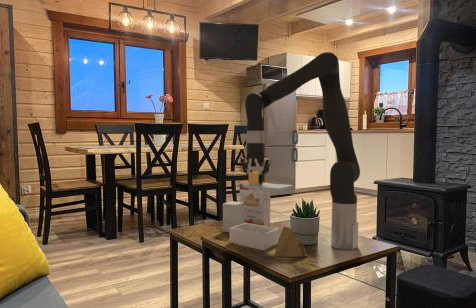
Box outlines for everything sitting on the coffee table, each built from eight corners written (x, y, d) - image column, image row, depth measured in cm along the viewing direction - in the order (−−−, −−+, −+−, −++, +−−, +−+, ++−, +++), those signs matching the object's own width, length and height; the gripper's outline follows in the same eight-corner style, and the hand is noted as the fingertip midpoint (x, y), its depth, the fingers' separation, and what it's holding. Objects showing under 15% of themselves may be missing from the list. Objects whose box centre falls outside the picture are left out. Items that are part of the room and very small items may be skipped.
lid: (293, 190, 153) (293, 172, 152) (280, 193, 143) (279, 175, 143) (252, 186, 163) (252, 170, 163) (237, 189, 154) (237, 172, 154)
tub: (278, 243, 148) (278, 228, 148) (264, 250, 139) (264, 234, 139) (245, 237, 157) (245, 222, 157) (229, 243, 148) (229, 228, 148)
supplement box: (244, 230, 169) (245, 202, 168) (236, 233, 162) (236, 204, 162) (230, 228, 172) (231, 200, 172) (222, 231, 166) (222, 203, 165)
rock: (313, 247, 135) (289, 239, 141) (309, 232, 130) (284, 224, 136) (299, 271, 129) (274, 261, 135) (294, 256, 124) (269, 247, 130)
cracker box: (238, 224, 179) (239, 181, 178) (246, 222, 184) (246, 179, 183) (263, 229, 171) (263, 183, 170) (270, 226, 176) (270, 182, 175)
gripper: (275, 142, 154) (275, 183, 155) (245, 142, 162) (246, 181, 163) (266, 142, 148) (266, 185, 149) (236, 142, 156) (236, 183, 156)
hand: (255, 183), depth 156 cm, fingers closed on lid, 4 cm apart
